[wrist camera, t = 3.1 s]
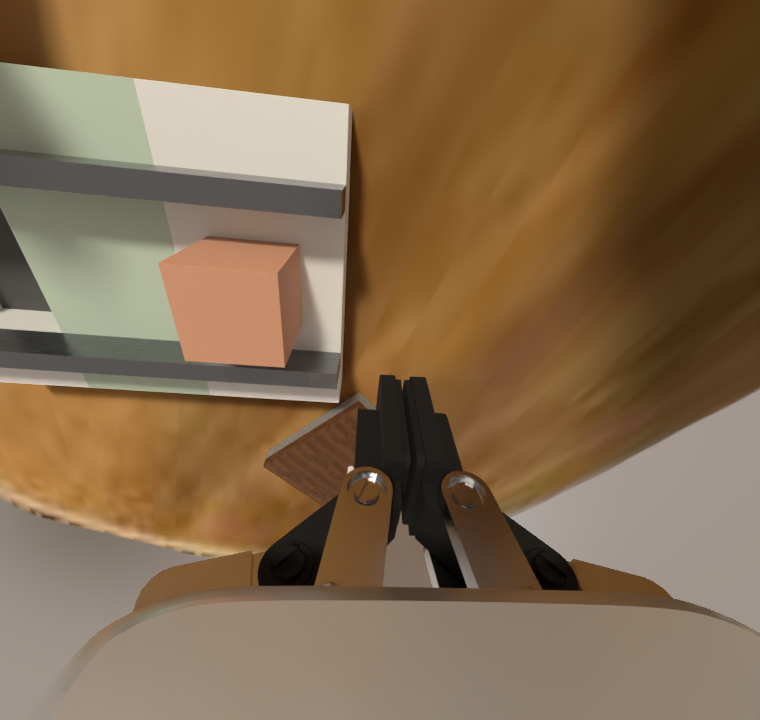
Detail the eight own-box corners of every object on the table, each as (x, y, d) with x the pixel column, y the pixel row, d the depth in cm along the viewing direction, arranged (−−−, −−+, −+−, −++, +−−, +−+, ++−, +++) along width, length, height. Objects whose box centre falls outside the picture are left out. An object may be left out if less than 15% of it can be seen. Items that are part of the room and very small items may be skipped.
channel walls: (346, 185, 17) (342, 190, 15) (340, 367, 23) (336, 389, 21) (-192, 128, 15) (-283, 125, 13) (-43, 340, 21) (-89, 361, 19)
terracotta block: (299, 244, 18) (277, 273, 14) (302, 323, 21) (284, 367, 17) (208, 235, 18) (157, 262, 14) (223, 317, 21) (185, 360, 17)
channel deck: (352, 110, 18) (348, 104, 15) (342, 379, 27) (338, 403, 25) (-161, 49, 16) (-261, 30, 13) (23, 358, 26) (-15, 381, 23)
